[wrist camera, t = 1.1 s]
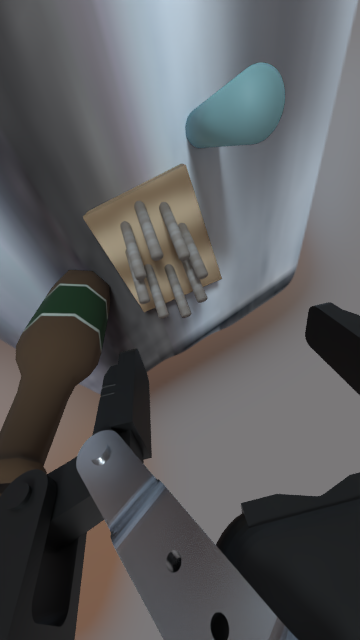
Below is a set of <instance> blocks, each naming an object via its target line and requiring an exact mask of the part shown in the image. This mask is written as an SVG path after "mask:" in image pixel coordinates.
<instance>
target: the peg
mask: <svg viewBox="0 0 360 640" xmlns="http://www.w3.org/2000/svg"><path fill="white" fill-rule="evenodd" d="M284 103H285V88H284V83H283V80H282V77H281V75H280V73H279V72H278V71H277V69H276V68H275V67H273V66H272V65H270V64H268V63H256V64H253V65H251V66H249V67H248V68H246V69H245V70H244V71H243V72H241V73H240V74H239V75H237V76H236V77H235V78H234V79H232V80H231V81H230V82H229V83H227V84H226V85H225V86H224V87H222V88H221V89H220V90H218V91H217V92H216V93H215V94H213V95H212V96H211V97H210V98H208V99H207V100H206V101H204V102H203V103H202V104H201V105H199V106H198V107H197V108H196V109H194V110H193V111H192V112H191V113H190V115H189V116H188V118H187V121H186V136H187V139H188V141H189V142H190V143H191V144H192V145H193V146H194V147H197V148H206V147H221V146H235V145H250V144H257V143H259V142H261V141H263V140H265V139H266V138H267V137H268V136H269V135H270V134H271V133H272V132H273V131H274V129H275V128H276V126H277V124H278V123H279V121H280V118H281V116H282V113H283V109H284Z"/></svg>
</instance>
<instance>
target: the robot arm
mask: <svg viewBox="0 0 360 640" xmlns="http://www.w3.org/2000/svg"><path fill="white" fill-rule="evenodd" d="M305 337H306V340H307V343H308V344H309V346H310V347H311V348H312V349H313V350H314V351H315V352H316V353H317V354H318V355H320V357H321V358H322V359H323V360H324V361H325V362H327V364H328V365H330V366H331V367H332V368H333V369H334V370H335V371H336V372H337V373H338V374H339V375H340V376H341V377H342V378H343V379H344V380H345V381H346V382H347V383H348V384H349V385H350V386H351V387H352V388H353V389H354V390H355V391H356V392H357V393H358V394H360V316H359V315H357V314H354V313H351V312H348V311H345V310H342V309H340V308H339V307H337V306H336V305H334V304H333V303H324V304H320V305H316V306H312V307H310V309H309V312H308V319H307V326H306V332H305ZM102 388H103V389H102V391H101V398H100V401H99V406H98V411H97V416H96V422H95V426H94V431H93V435H92V436H91V437H90V438H89V439H88V440H87V441H86V442H85V443H84V444H83V446H82V448H81V449H80V451H79V453H78V456H77V457H75V458H74V459H72V460H71V461H69V462H67V463H66V464H64V465H62V466H61V467H59V468H58V469H55V470H54V471H52V472H50V473H49V474H46V473H45V472H44V471H42V470H39V469H34V470H30V471H27V472H25V473H23V474H22V475H20V476H19V477H17V478H16V479H15V480H14V481H12V482H11V483H10V484H9V485H8V487H7V488H6V489H5V490H4V492H3V493H2V494H1V496H0V640H74V638H75V630H76V621H77V612H78V603H79V595H80V586H81V578H82V568H83V560H84V552H85V543H86V534H87V531H89V530H90V529H91V528H93V527H94V526H96V525H97V524H98V523H100V522H101V521H103V520H105V522H106V523H107V525H108V527H109V529H110V531H111V540H112V542H113V545H114V547H115V549H116V551H117V553H118V555H119V557H120V559H121V561H122V563H123V565H124V566H125V568H126V570H127V572H128V574H129V576H130V578H131V579H132V581H133V583H134V585H135V587H136V589H137V591H138V593H139V594H140V596H141V598H142V600H143V602H144V604H145V606H146V607H147V609H148V611H149V613H150V615H151V617H152V619H153V620H154V622H155V624H156V626H157V628H158V630H159V632H160V633H161V636H162V637H163V639H164V640H360V473H356V474H352V475H349V476H348V477H347V478H345V479H344V480H343V481H341V482H340V483H338V484H337V485H336V486H334V487H333V488H332V489H330V490H329V491H327V492H326V493H325V494H323V495H321V496H301V495H285V494H284V495H283V494H275V495H271V496H267V497H263V498H260V499H256V500H252V501H248V502H244V503H241V507H242V514H241V515H240V516H238V517H236V518H235V519H234V520H233V521H232V522H231V523H230V524H229V525H228V527H227V528H226V529H225V530H224V532H223V533H222V535H221V537H220V538H219V540H218V542H217V544H216V545H215V544H214V542H213V541H212V540H211V539H210V538H209V537H208V536H207V534H206V533H205V532H204V531H203V530H202V528H201V527H200V526H199V525H198V524H197V523H196V522H195V520H194V519H193V518H192V517H191V516H190V515H189V514H188V512H187V511H186V510H185V509H184V508H183V506H182V505H181V504H180V503H179V502H178V500H177V499H176V498H175V497H174V496H173V495H172V494H171V492H170V491H169V490H168V489H167V488H166V487H165V486H164V484H163V483H162V482H161V481H160V480H157V479H156V478H155V477H154V476H153V475H152V474H151V472H150V471H149V470H148V469H147V468H146V466H145V465H144V464H143V460H144V459H148V458H151V456H152V453H151V424H150V394H149V380H148V376H147V372H146V369H145V367H144V364H143V362H142V359H141V356H140V354H139V351H138V349H132V350H128V351H124V352H120V354H119V361H118V365H115V366H111V367H110V368H109V370H108V371H107V373H106V375H105V376H104V380H103V385H102Z"/></svg>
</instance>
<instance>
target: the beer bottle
mask: <svg viewBox="0 0 360 640" xmlns="http://www.w3.org/2000/svg"><path fill="white" fill-rule="evenodd" d="M109 310H110V291H109V285H108V284H107V283H106V282H105V281H104V280H102V279H101V278H100V277H99V276H98V275H96V274H95V273H94V272H93V271H81V270H69V271H68V272H67V273H66V274H65V275H64V276H63V277H62V278H61V279H60V280H59V281H58V282H57V283H56V284H55V285H54V286H53V287H52V288H51V290H50V291H49V293H48V294H47V296H46V298H45V299H44V301H43V302H42V304H41V305H40V307H39V308H38V310H37V311H36V313H35V314H34V316H33V317H32V319H31V321H30V322H29V324H28V325H27V327H26V328H25V330H24V331H23V333H22V335H21V337H20V339H19V341H18V343H17V345H16V362H17V364H18V367H19V370H20V373H21V380H20V384H19V387H18V391H17V394H16V396H15V399H14V401H13V404H12V406H11V408H10V410H9V413H8V415H7V417H6V420H5V422H4V424H3V427H2V429H1V432H0V496H1V494H2V493H3V492H4V490H5V489H6V488H7V487H8V485H9V484H10V483H11V482H12V481H14V480H15V479H16V478H17V477H19V476H20V475H22V474H23V473H25V472H27V471H30V470H34V469H39V470H42V471H44V472H45V473H47V472H46V470H45V469H44V467H43V466H44V463H45V460H46V458H47V455H48V452H49V449H50V447H51V444H52V442H53V439H54V436H55V433H56V431H57V428H58V425H59V423H60V420H61V417H62V415H63V412H64V409H65V406H66V404H67V401H68V399H69V397H70V395H71V393H72V391H73V389H74V387H75V386H76V385H77V384H79V383H80V382H81V381H83V380H84V379H85V378H87V377H88V376H89V375H90V374H91V373H92V371H93V370H94V369H95V367H96V366H97V365H98V362H99V358H100V355H101V351H102V346H103V341H104V336H105V331H106V326H107V321H108V315H109Z"/></svg>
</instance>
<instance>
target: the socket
mask: <svg viewBox="0 0 360 640" xmlns="http://www.w3.org/2000/svg"><path fill="white" fill-rule="evenodd" d="M83 218H84V220H85V221H86V223H87V225H88V226H89V228H90V229H91V231H92V232H93V234H94V235H95V237H96V238H97V240H98V242H99V243H100V245H101V246H102V248H103V249H104V251H105V252H106V254H107V255H108V257H109V258H110V260H111V262H112V263H113V265H114V266H115V268H116V269H117V271H118V272H119V274H120V275H121V277H122V279H123V280H124V282H125V283H126V285H127V286H128V288H129V289H130V291H131V292H132V294H133V295H134V297H135V299H136V300H137V302H138V303H139V305H140V306H141V308H142V309H143V311H144V312H146V311H148V310H151V309H153V308H155V307H156V310H157V313H158V316H159V318H161V319H162V318H166V317H168V316H169V313H168V310H167V307H166V304H165V303H167V302H169V301H172V300H174V299H175V300H176V302H177V305H178V308H179V311H180V313H181V316H182V318H185V317H188V316H190V315H191V311H190V309H189V306H188V303H187V301H186V298H185V296H184V295H186V294H188V293H190V292H192V291H193V292H194V294H195V297H196V299H197V302H199V303H201V302H204V301H206V300H207V296H206V293H205V291H204V289H203V287H204V286H206V285H209V284H211V283H213V282H216V281H218V280H220V279H222V277H221V274H220V271H219V268H218V265H217V262H216V258H215V255H214V252H213V249H212V246H211V243H210V240H209V236H208V233H207V230H206V227H205V224H204V221H203V218H202V214H201V211H200V208H199V205H198V202H197V199H196V196H195V192H194V189H193V186H192V183H191V180H190V177H189V174H188V171H187V167H186V165H184V164H180V165H178V166H176V167H174V168H172V169H170V170H168V171H166V172H164V173H162V174H160V175H158V176H156V177H154V178H152V179H150V180H148V181H146V182H145V183H143V184H141V185H139V186H137V187H135V188H133V189H131V190H129V191H127V192H125V193H123V194H121V195H119V196H117V197H115V198H113V199H111V200H109V201H107V202H105V203H103V204H101V205H99V206H97V207H96V208H94V209H92V210H90V211H88V212H87V213H86V214H85V215H84V216H83Z"/></svg>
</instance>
